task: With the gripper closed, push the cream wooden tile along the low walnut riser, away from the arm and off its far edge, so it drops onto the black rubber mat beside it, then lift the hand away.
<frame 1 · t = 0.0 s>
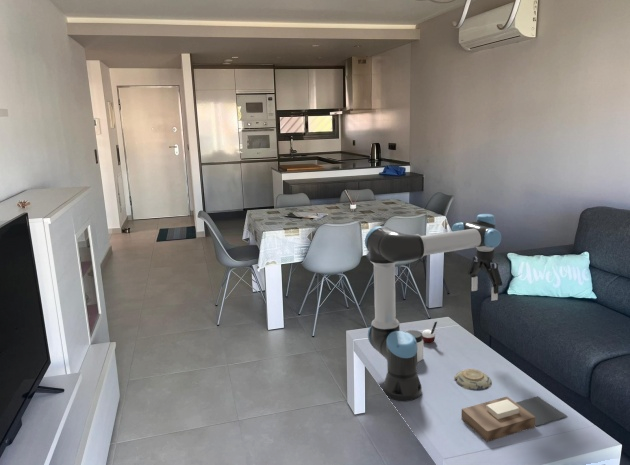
hand: (484, 295, 214), 28 cm above the table, tool pointing down, fingers open, 13 cm apart
decorative bowl: (472, 382, 198), on the table
tile: (502, 411, 169), point 4 cm above the table, touching riser
toy boat: (428, 342, 234), on the table
riser: (497, 422, 169), on the table
jar: (413, 358, 219), on the table
mat: (536, 411, 175), on the table
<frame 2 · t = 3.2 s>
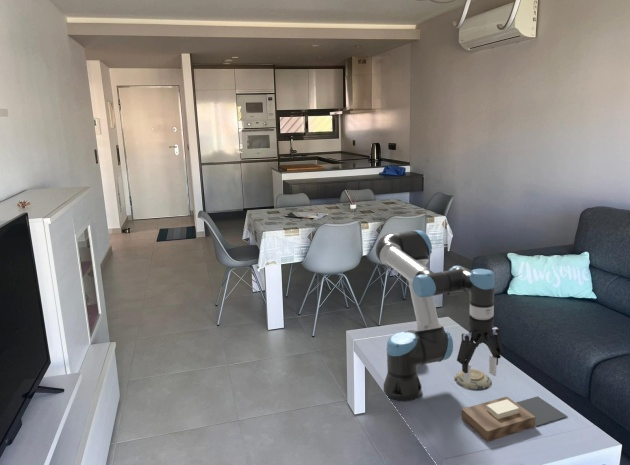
hand: (479, 377, 163), 20 cm above the table, tool pointing down, fingers open, 10 cm apart
nothing on the table moved.
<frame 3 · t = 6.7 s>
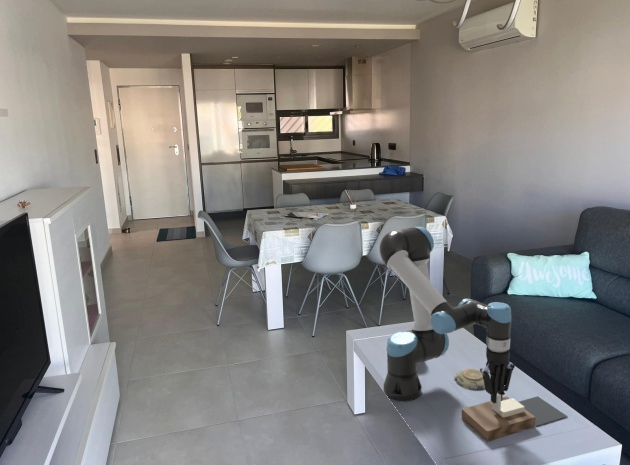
hand: (496, 409, 168), 6 cm above the table, tool pointing down, fingers closed
tile: (507, 410, 170), point 4 cm above the table, touching gripper, riser
everything else where it was.
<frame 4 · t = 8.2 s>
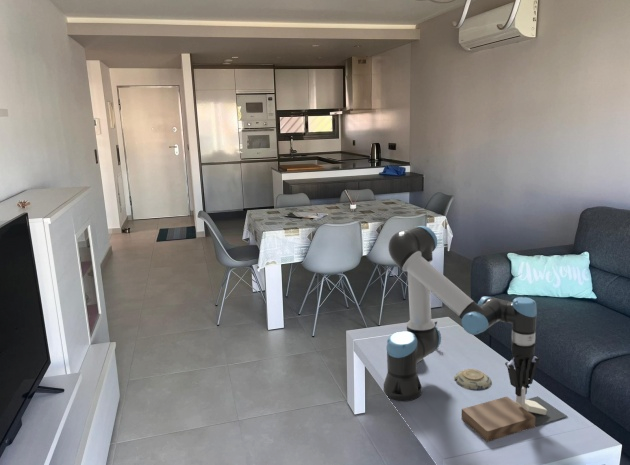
hand: (520, 402, 171), 6 cm above the table, tool pointing down, fingers closed
tile: (530, 408, 173), point 2 cm above the table, tilted 24°, touching gripper
everything else where it was.
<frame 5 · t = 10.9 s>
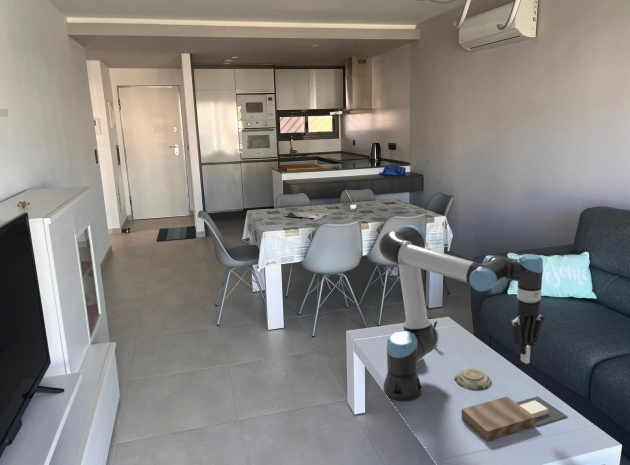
hand: (524, 361, 170), 20 cm above the table, tool pointing down, fingers closed
tile: (531, 412, 174), resting on mat
everything else where it was.
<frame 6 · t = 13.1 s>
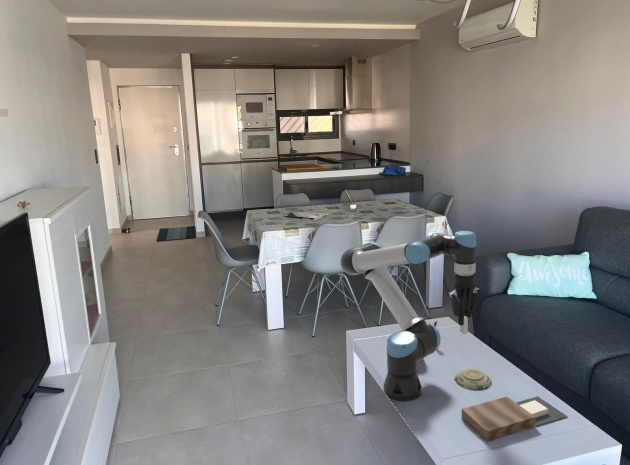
hand: (463, 332, 182), 26 cm above the table, tool pointing down, fingers closed
nothing on the table moved.
at the end: tile inside the target area on the mat (2.7 cm from its centre), point 0.4 cm above the mat's base; tile resting on mat; the gripper is holding nothing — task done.
